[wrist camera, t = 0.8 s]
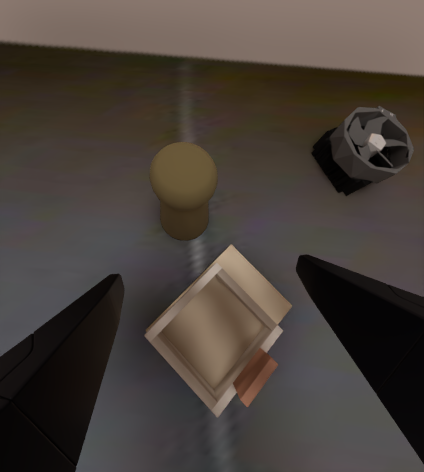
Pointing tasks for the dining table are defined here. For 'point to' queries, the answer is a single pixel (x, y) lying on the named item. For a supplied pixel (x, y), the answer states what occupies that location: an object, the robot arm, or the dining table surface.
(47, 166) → the dining table surface
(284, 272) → the dining table surface
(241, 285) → the wooden box
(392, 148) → the cpu cooler
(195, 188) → the cork
